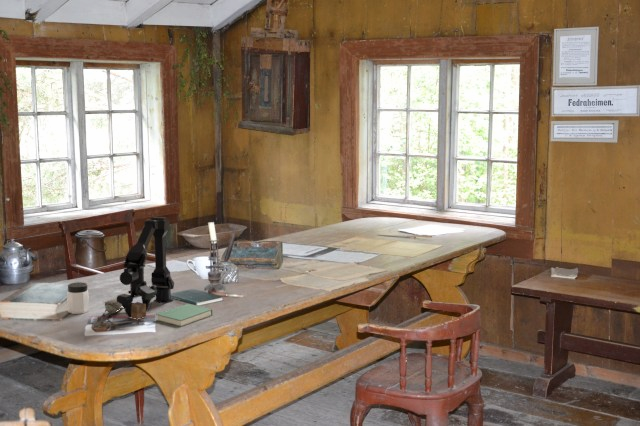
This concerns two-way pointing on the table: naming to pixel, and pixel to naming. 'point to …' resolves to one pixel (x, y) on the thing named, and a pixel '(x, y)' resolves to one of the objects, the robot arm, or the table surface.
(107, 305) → the decorative bird
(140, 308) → the walnut block
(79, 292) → the jar
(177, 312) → the green book
